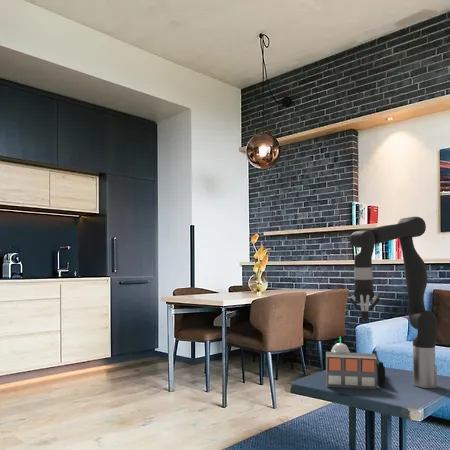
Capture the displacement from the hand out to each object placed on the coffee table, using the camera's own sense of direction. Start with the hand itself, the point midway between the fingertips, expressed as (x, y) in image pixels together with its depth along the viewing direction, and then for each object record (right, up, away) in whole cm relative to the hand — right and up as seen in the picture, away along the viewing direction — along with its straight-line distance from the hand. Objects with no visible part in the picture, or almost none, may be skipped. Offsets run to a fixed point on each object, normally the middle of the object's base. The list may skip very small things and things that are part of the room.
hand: (364, 320), depth 203 cm
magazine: (+13, -33, +24) cm, 42 cm away
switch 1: (-10, -23, +10) cm, 28 cm away
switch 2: (-3, -23, +9) cm, 25 cm away
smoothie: (-6, -32, +19) cm, 38 cm away
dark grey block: (-3, -31, +10) cm, 33 cm away
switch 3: (+4, -23, +8) cm, 25 cm away
